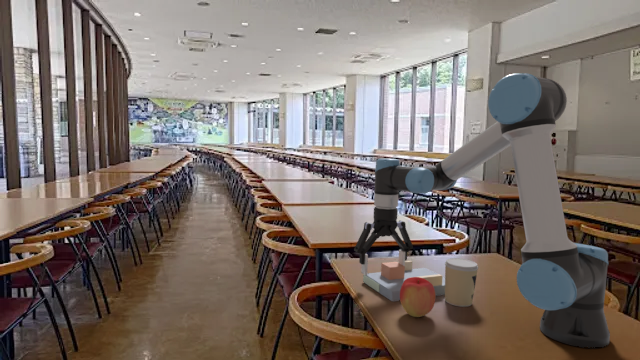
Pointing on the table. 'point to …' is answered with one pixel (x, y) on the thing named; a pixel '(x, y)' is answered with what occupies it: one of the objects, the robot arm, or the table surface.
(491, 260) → the table surface
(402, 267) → the block
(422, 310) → the apple
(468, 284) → the coffee cup
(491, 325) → the table surface
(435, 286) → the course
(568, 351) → the table surface
